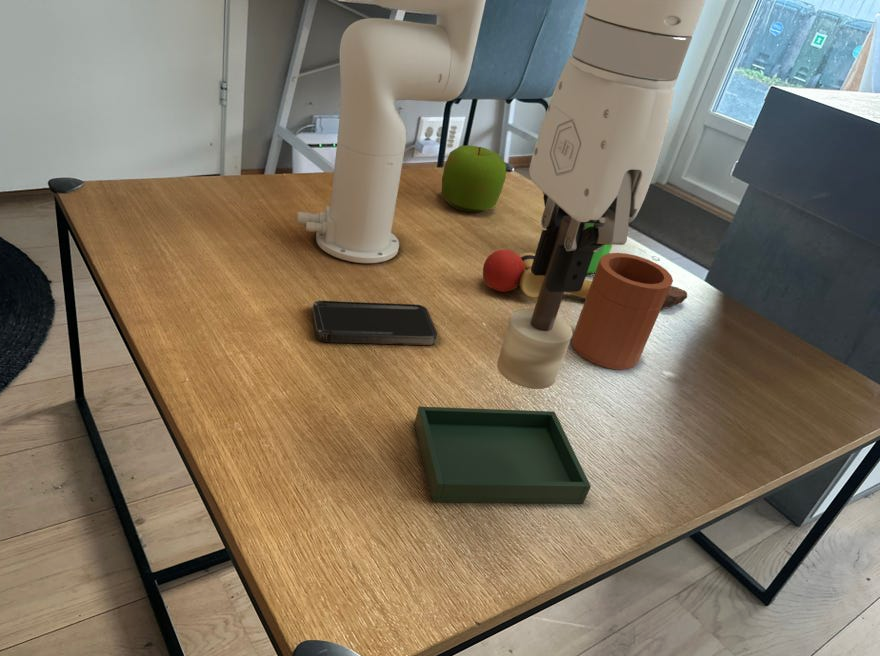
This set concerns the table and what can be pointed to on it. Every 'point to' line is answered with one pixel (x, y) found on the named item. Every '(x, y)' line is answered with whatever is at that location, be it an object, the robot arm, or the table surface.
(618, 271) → the jar
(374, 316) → the phone
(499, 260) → the kendama
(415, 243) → the table surface
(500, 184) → the apple
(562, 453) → the tray
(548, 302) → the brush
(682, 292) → the stone
